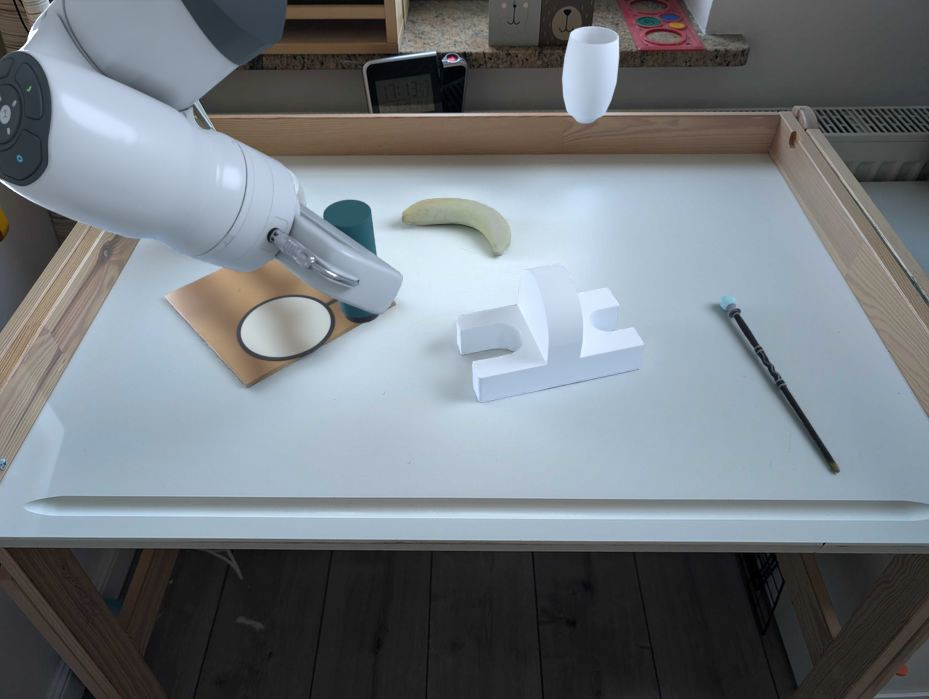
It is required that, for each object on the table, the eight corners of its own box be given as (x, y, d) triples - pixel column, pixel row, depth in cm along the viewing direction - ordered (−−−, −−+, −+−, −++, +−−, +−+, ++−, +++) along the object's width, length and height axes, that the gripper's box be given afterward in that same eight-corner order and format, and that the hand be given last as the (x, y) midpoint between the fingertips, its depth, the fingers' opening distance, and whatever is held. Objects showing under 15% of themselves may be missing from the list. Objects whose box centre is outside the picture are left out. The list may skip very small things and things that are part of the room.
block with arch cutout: (604, 311, 84) (616, 233, 76) (639, 369, 77) (656, 290, 70) (455, 340, 81) (452, 262, 73) (479, 403, 74) (478, 324, 67)
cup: (562, 163, 109) (575, 21, 94) (609, 172, 106) (629, 29, 92) (547, 187, 104) (557, 41, 89) (595, 197, 102) (614, 50, 87)
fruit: (427, 203, 101) (425, 182, 99) (524, 230, 96) (525, 209, 94) (400, 229, 97) (398, 208, 95) (500, 260, 92) (500, 238, 89)
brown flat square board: (250, 391, 76) (248, 386, 76) (165, 299, 87) (163, 294, 87) (409, 301, 86) (408, 296, 86) (315, 229, 97) (314, 224, 97)
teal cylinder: (357, 332, 65) (340, 232, 58) (332, 310, 67) (313, 211, 60) (392, 312, 67) (380, 213, 59) (367, 292, 69) (352, 193, 62)
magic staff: (831, 480, 68) (827, 473, 67) (720, 305, 85) (715, 297, 84) (849, 471, 67) (845, 464, 66) (733, 297, 85) (729, 289, 83)
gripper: (342, 229, 46) (457, 280, 58) (188, 122, 57) (311, 183, 68) (296, 313, 47) (418, 347, 59) (153, 192, 58) (280, 241, 69)
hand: (359, 258), depth 64 cm, fingers closed on teal cylinder, 4 cm apart
